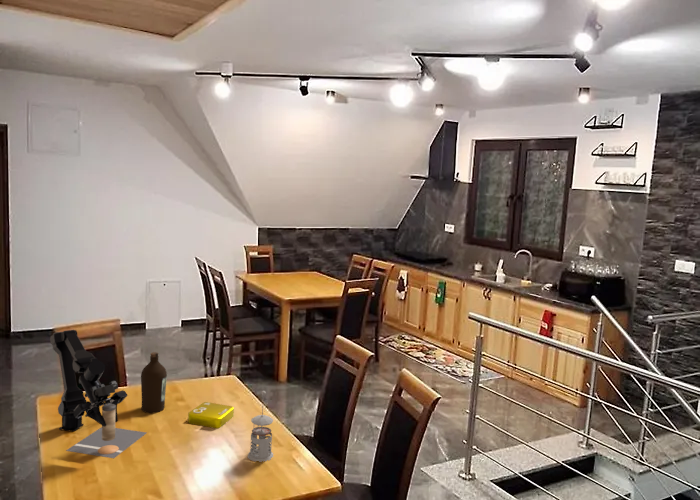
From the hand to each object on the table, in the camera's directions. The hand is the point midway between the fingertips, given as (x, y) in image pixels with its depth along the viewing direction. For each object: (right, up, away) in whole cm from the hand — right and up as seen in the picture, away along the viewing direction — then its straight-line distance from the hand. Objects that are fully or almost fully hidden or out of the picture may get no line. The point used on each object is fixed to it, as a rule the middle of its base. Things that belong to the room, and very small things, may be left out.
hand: (111, 423), depth 205 cm
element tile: (+27, -10, +37) cm, 47 cm away
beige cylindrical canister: (-2, -6, +1) cm, 6 cm away
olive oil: (0, -7, +44) cm, 45 cm away
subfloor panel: (-5, -11, +8) cm, 14 cm away
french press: (+52, -14, +8) cm, 55 cm away
